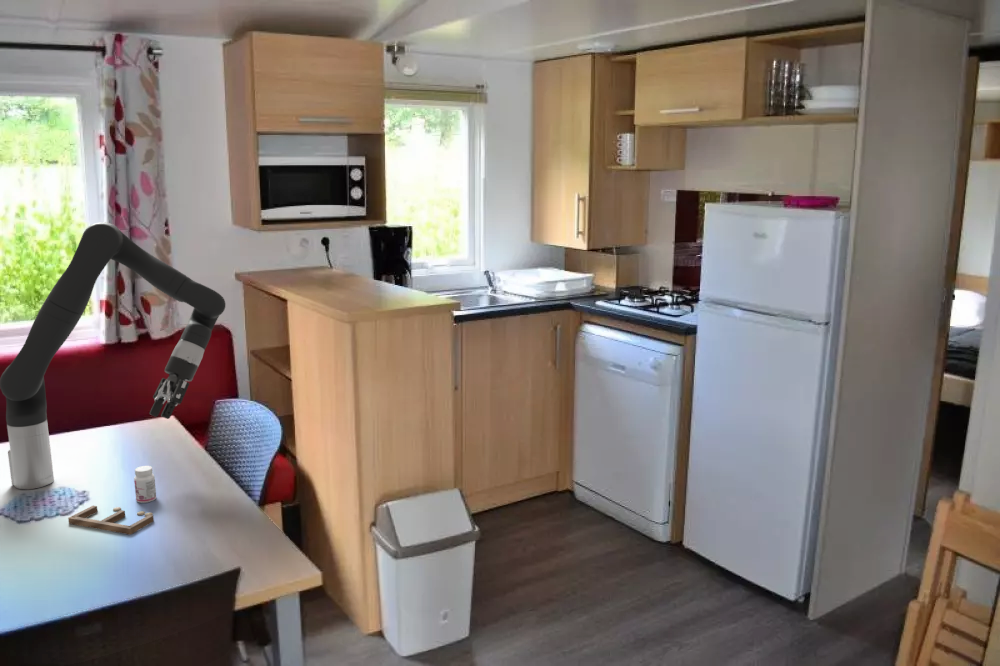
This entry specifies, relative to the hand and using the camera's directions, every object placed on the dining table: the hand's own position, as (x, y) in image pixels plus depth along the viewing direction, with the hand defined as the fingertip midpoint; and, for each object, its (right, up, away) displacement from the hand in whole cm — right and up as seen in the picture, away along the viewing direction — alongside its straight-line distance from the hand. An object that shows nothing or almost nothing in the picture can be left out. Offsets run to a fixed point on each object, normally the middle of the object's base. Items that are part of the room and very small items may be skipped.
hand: (158, 416), depth 215 cm
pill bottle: (-1, -21, -6) cm, 22 cm away
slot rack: (-3, -23, -19) cm, 30 cm away
